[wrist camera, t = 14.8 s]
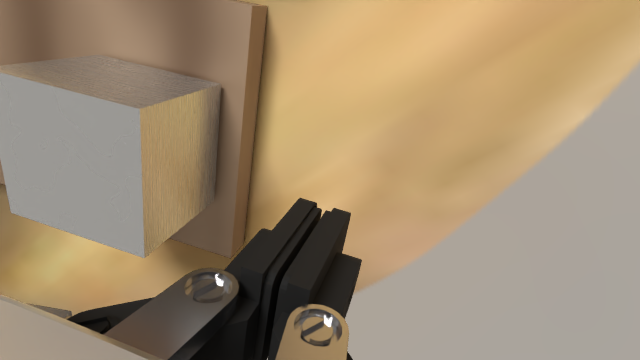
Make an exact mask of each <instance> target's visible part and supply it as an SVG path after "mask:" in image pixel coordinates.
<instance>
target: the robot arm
mask: <svg viewBox="0 0 640 360" xmlns="http://www.w3.org/2000/svg"><path fill="white" fill-rule="evenodd" d="M321 212H322V209H320V208H317V203H316V202H312V201H309V200H306V199H302V198H299V199H298V200H297V202H296V203H295V204H294V205H293V206H292V207H291V209H290V210H289V211H288V212H287V213H286V215H285V216H284V217H283V218H282V219H281V220H280V222H279V223H278V224H277V225H276V226H275V228H274V229H273V230H272V231H271V230H268V229H265V228H264V229H261V230H260V231H259V232H258V233H257V234H256V235H255V237H254V238H253V239H252V240H251V241H250V242H249V243H248V244H247V245H246V247H245V248H244V249H243V250H242V251H241V252H240V253H239V254H238V255H237V256H236V258H235V259H234V260H233V261H232V262H231V263H230V264H229V265H228V266H227V268H226V269H225V270H221V269H217V268H202V269H198V270H195V271H192V272H190V273H189V274H187V275H185V276H184V277H182V278H181V279H180V280H178V281H177V282H175V283H174V284H173V285H171V286H170V287H169V288H167V289H166V290H164V291H163V292H162V293H160V294H159V295H157V296H156V297H154V298H149V299H144V300H138V301H133V302H128V303H123V304H118V305H113V306H107V307H102V308H97V309H92V310H88V311H84V312H81V313H78V314H76V315H74V316H72V313H71V311H68V310H62V309H56V308H50V307H44V306H38V305H32V304H26V303H23V302H20V301H18V300H15V299H13V298H10V297H7V296H5V295H2V294H0V360H267V358H268V360H353V359H352V358H351V356H350V355H349V353H348V352H347V347H348V337H349V330H348V326H347V323H346V321H345V317H346V313H347V311H348V308H349V305H350V302H351V299H352V295H353V292H354V289H355V285H356V281H357V278H358V274H359V270H360V266H361V262H362V260H361V259H358V258H355V257H352V256H349V255H345V254H342V251H343V246H344V242H345V238H346V234H347V229H348V225H349V221H350V216H351V213H349V212H346V211H342V210H339V209H336V208H333V210H332V211H331V212H330V211H327V210H326V211H325V213H324V214H323V216H322V217H321ZM320 218H321V219H320Z"/></svg>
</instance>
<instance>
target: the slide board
mask: <svg viewBox="0 0 640 360" xmlns="http://www.w3.org/2000/svg"><path fill="white" fill-rule="evenodd" d="M266 16H267V6H263V5H258V4H253V3H248V2H242V1H237V0H0V66H2V65H11V64H20V63H29V62H38V61H47V60H56V59H65V58H74V57H83V56H92V55H102V56H107V57H111V58H115V59H119V60H123V61H128V62H132V63H136V64H140V65H144V66H148V67H153V68H157V69H161V70H165V71H169V72H173V73H178V74H182V75H186V76H190V77H194V78H199V79H203V80H207V81H211V82H215V83H219V84H221V95H220V112H219V129H218V147H217V164H216V181H215V198H214V201H213V202H212V203H211V204H210V205H208V206H207V207H206V208H205V209H203V210H202V211H201V212H200V213H199V214H197V215H196V216H195V217H194V218H193V219H191V220H190V221H189V222H188V223H186V224H185V225H184V226H183V227H182V228H180V229H179V230H178V231H177V232H176V233H174V234H173V235H172V236H171V237H170V239H173V240H176V241H179V242H182V243H185V244H188V245H191V246H194V247H197V248H201V249H204V250H207V251H210V252H213V253H216V254H219V255H222V256H225V257H228V258H231V257H232V256H233V255H234V254H235V253H236V252H237V250H238V249H239V248H240V247H241V246H242V245H243V243H244V235H245V225H246V215H247V205H248V195H249V185H250V175H251V165H252V155H253V145H254V135H255V125H256V115H257V105H258V95H259V85H260V75H261V65H262V56H263V46H264V36H265V26H266ZM0 183H1V184H4V185H5V180H4V175H3V170H2V165H1V160H0Z"/></svg>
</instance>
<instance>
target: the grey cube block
mask: <svg viewBox="0 0 640 360" xmlns="http://www.w3.org/2000/svg"><path fill="white" fill-rule="evenodd" d="M220 95H221V84H219V83H215V82H211V81H207V80H203V79H199V78H194V77H190V76H186V75H182V74H178V73H173V72H169V71H165V70H161V69H157V68H153V67H148V66H144V65H140V64H136V63H132V62H128V61H123V60H119V59H115V58H111V57H107V56H102V55H92V56H83V57H74V58H65V59H56V60H47V61H38V62H29V63H20V64H11V65H2V66H0V160H1V165H2V170H3V175H4V180H5V185H6V190H7V195H8V200H9V205H10V210H11V213H13V214H16V215H19V216H22V217H25V218H28V219H31V220H34V221H37V222H40V223H43V224H45V225H48V226H51V227H54V228H57V229H60V230H63V231H66V232H69V233H72V234H75V235H78V236H81V237H84V238H87V239H90V240H93V241H95V242H98V243H101V244H104V245H107V246H110V247H113V248H116V249H119V250H122V251H125V252H128V253H131V254H134V255H137V256H140V257H143V258H145V257H146V256H148V255H149V254H150V253H151V252H153V251H154V250H155V249H156V248H157V247H159V246H160V245H161V244H162V243H163V242H165V241H166V240H167V239H168V238H170V237H171V236H172V235H173V234H174V233H176V232H177V231H178V230H179V229H180V228H182V227H183V226H184V225H185V224H186V223H188V222H189V221H190V220H191V219H193V218H194V217H195V216H196V215H197V214H199V213H200V212H201V211H202V210H203V209H205V208H206V207H207V206H208V205H210V204H211V203H212V202H213V201H214V198H215V181H216V164H217V147H218V129H219V112H220Z"/></svg>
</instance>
